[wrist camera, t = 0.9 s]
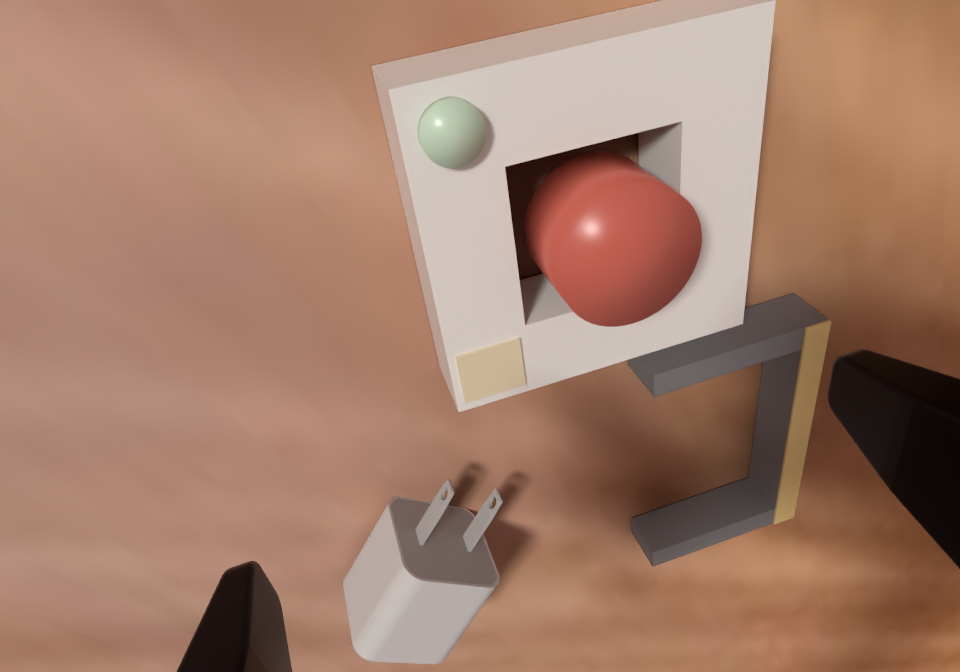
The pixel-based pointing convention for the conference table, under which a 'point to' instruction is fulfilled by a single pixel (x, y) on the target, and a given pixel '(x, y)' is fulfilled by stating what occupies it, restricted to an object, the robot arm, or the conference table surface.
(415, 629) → the usb wall charger
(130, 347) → the conference table surface
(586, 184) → the button
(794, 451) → the bracket
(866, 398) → the robot arm
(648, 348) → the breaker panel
